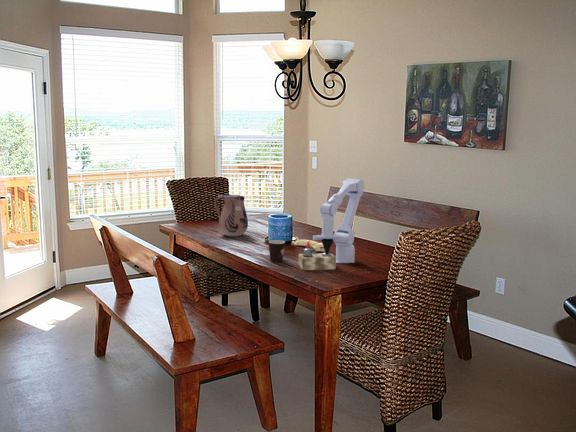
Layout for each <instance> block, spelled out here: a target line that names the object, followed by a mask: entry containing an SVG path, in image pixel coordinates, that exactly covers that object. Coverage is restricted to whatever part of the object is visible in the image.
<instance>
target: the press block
mask: <svg viewBox="0 0 576 432" xmlns="http://www.w3.org/2000/svg"><path fill="white" fill-rule="evenodd" d="M322 253H323V252H322ZM322 253H321V252H320V253H313V256H312V257H304V253H298V266H300V267H301V268H300V267H299V268H300V269H301V270H302V271H316V270H319V271H321V270H323V271H324V270H336V268H337V262H336V255H334V254H333V253H331V252H330V253H331V257H323V256H322Z"/></svg>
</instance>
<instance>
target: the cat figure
mask: <svg viewBox="0 0 576 432" xmlns="http://www.w3.org/2000/svg"><path fill="white" fill-rule="evenodd" d="M298 236H299V232H295V233H294V239H296V241H294V240H291V243H290V245H291V246H299V247H300V246H303V247H304V246H306V247H305V248H312V249H313V251H314V252H322V253H325V250H324V246H323V243H322V242H319V240H310V239H299V237H298Z"/></svg>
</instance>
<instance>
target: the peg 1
mask: <svg viewBox="0 0 576 432" xmlns="http://www.w3.org/2000/svg"><path fill="white" fill-rule="evenodd" d="M313 251H314V248H312V247H309V248H306V247H305V248H303V254H304V257H312V256H313V254H314V253H313Z"/></svg>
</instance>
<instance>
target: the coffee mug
mask: <svg viewBox="0 0 576 432" xmlns="http://www.w3.org/2000/svg"><path fill="white" fill-rule="evenodd" d="M285 244H286V241H285V240H279V239H274V240H273V239H272V240H269V241H268V249H269V250H268V251H269V261H270V262H272V261H273V263H281V261H282V262H283V259H284V253H285V246H286V245H285Z"/></svg>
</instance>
